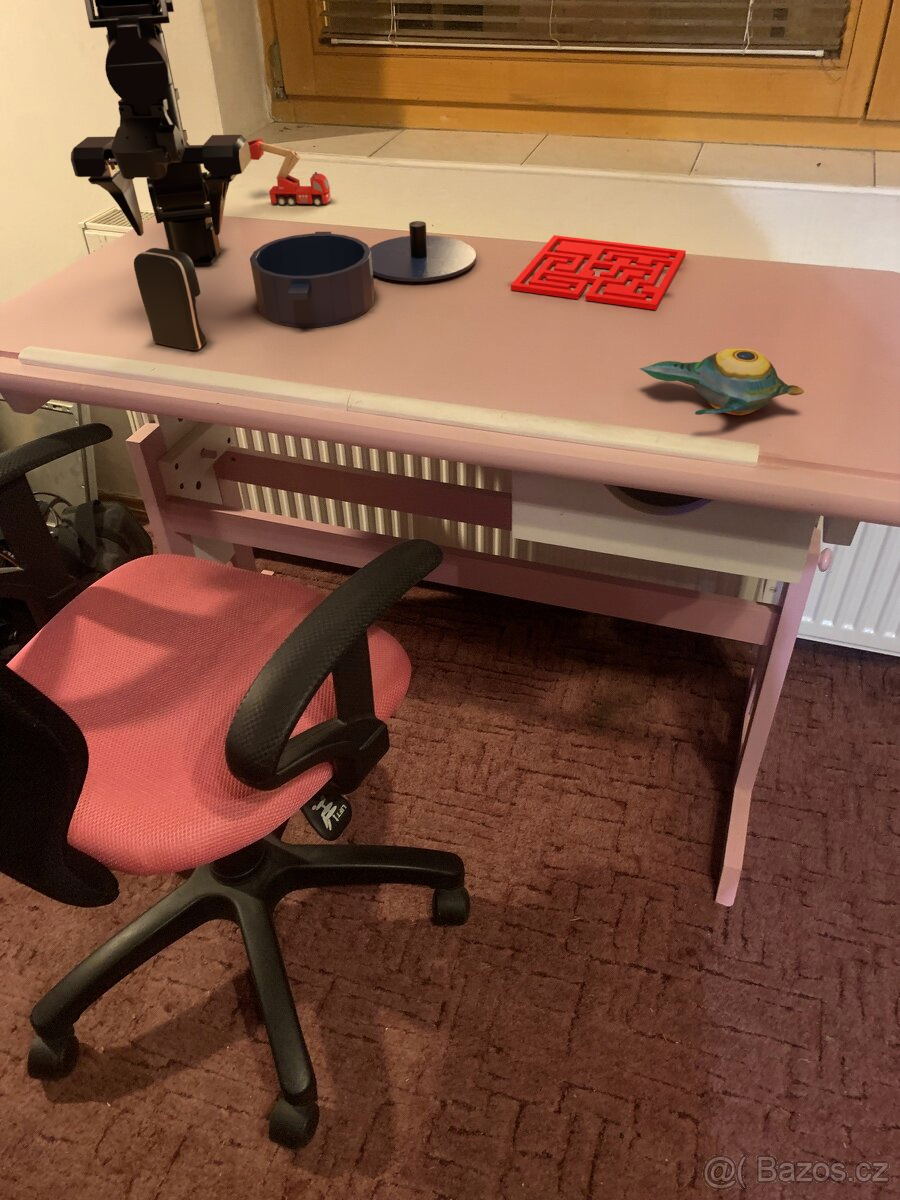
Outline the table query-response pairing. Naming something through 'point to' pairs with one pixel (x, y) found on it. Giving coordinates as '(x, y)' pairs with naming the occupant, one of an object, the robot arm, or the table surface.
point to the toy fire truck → (291, 178)
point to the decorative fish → (728, 380)
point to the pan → (313, 279)
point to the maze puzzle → (615, 288)
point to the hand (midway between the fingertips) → (179, 234)
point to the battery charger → (170, 297)
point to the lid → (421, 256)
